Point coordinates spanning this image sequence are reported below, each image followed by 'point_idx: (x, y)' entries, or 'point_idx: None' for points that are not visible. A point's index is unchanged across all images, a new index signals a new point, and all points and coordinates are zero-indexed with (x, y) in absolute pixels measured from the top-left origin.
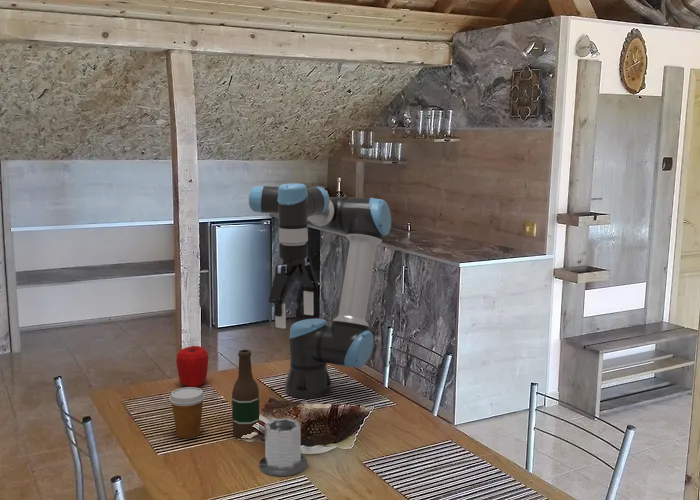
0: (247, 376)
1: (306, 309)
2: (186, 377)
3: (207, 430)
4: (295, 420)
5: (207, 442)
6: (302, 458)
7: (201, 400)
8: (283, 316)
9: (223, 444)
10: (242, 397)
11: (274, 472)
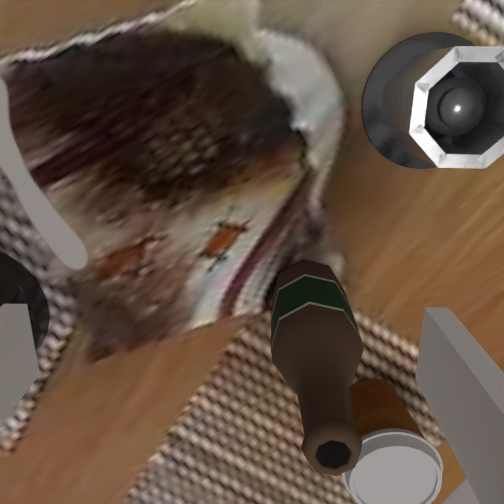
0: (338, 370)
1: (14, 378)
2: None
3: None
4: (414, 93)
5: (391, 340)
6: (382, 69)
7: (387, 431)
8: (495, 369)
9: (384, 303)
10: (356, 336)
11: None
